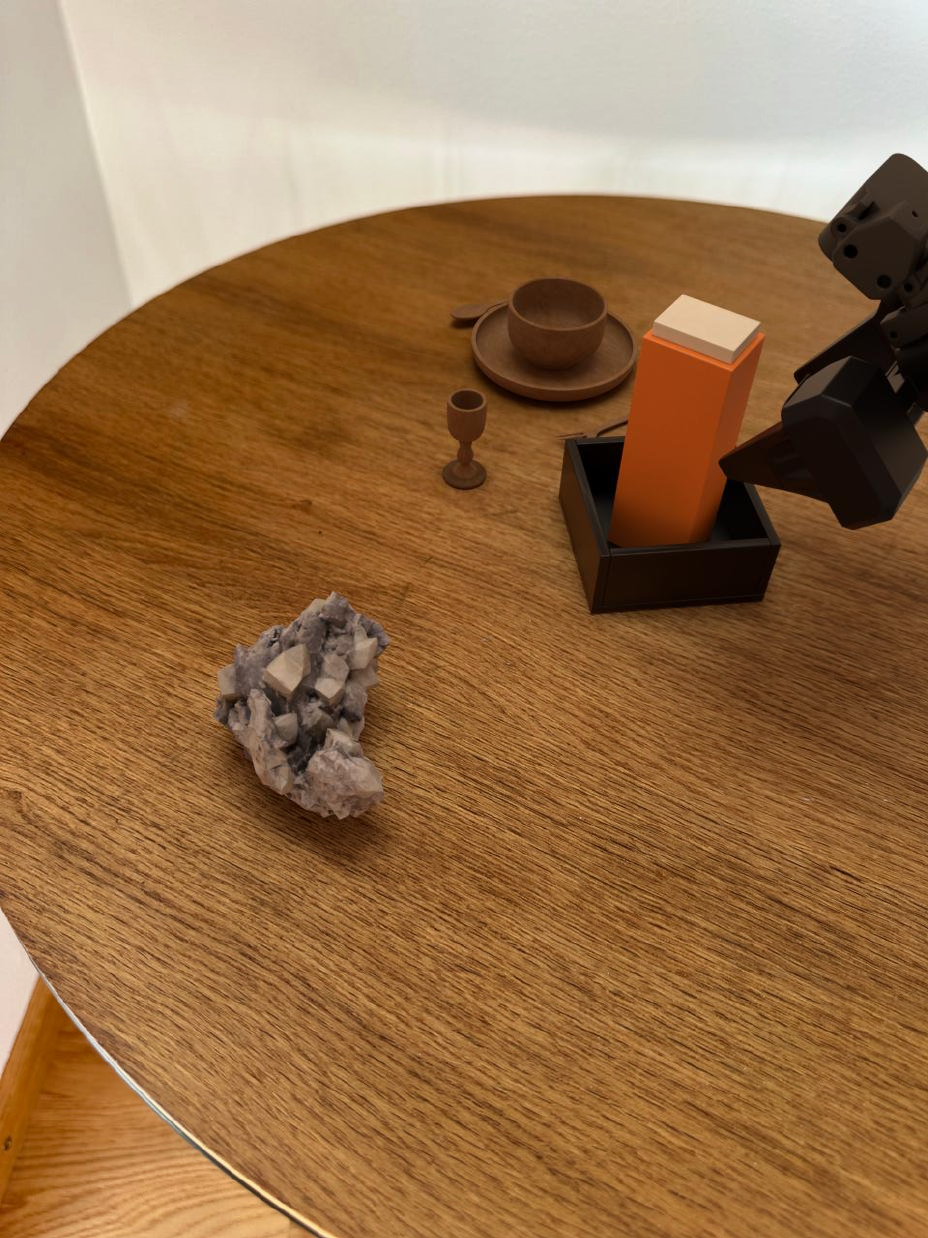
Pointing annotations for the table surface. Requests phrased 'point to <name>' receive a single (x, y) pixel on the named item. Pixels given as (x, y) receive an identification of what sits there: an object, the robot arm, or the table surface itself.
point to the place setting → (539, 358)
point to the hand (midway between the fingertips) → (762, 422)
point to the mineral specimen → (308, 707)
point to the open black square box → (661, 572)
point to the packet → (683, 423)
